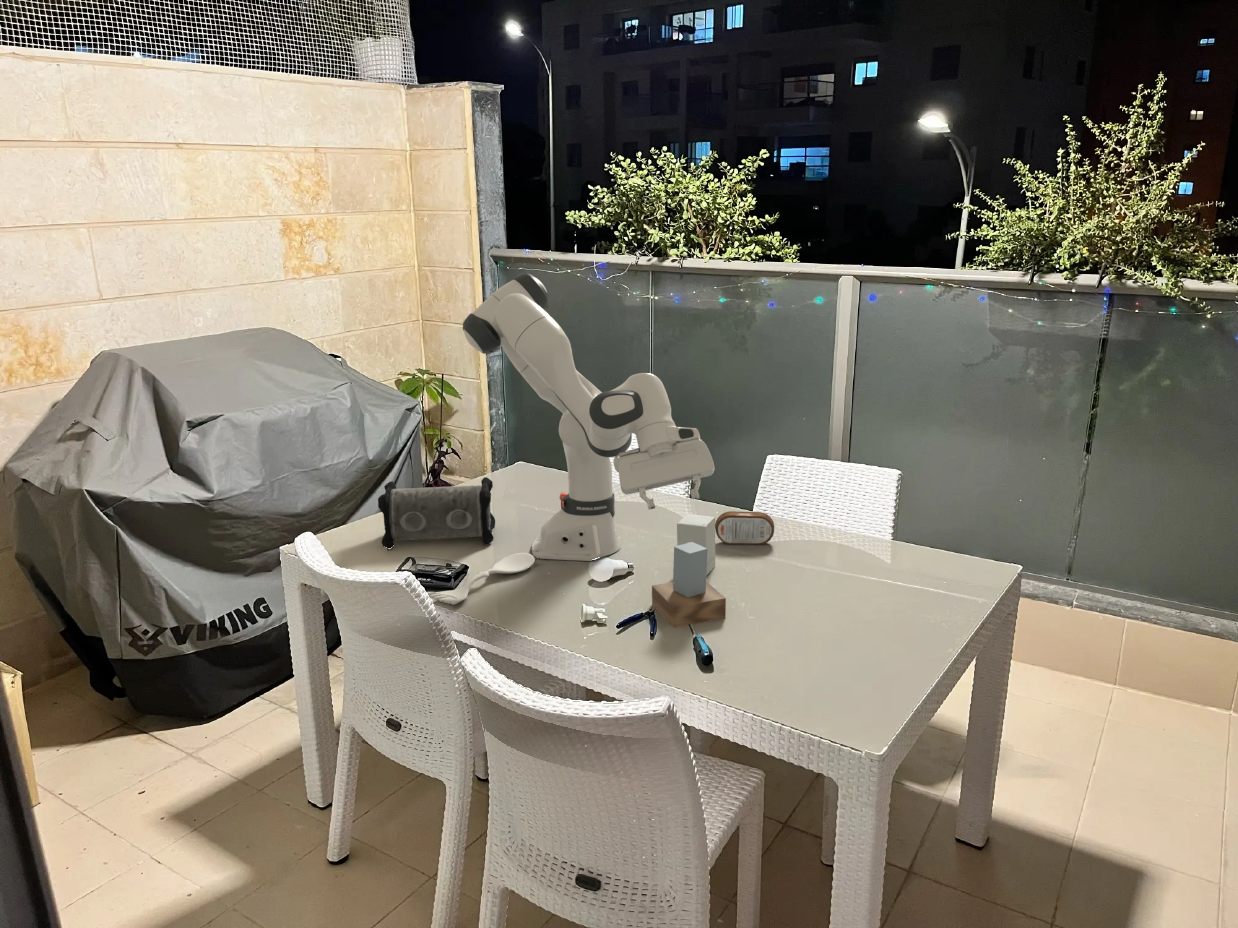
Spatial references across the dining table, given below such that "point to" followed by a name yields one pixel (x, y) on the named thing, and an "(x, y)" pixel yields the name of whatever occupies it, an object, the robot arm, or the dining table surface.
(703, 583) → the slate block
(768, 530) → the tin
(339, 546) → the dining table surface
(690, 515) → the supplement box
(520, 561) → the spoon
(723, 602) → the walnut block
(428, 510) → the speaker
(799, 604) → the dining table surface
